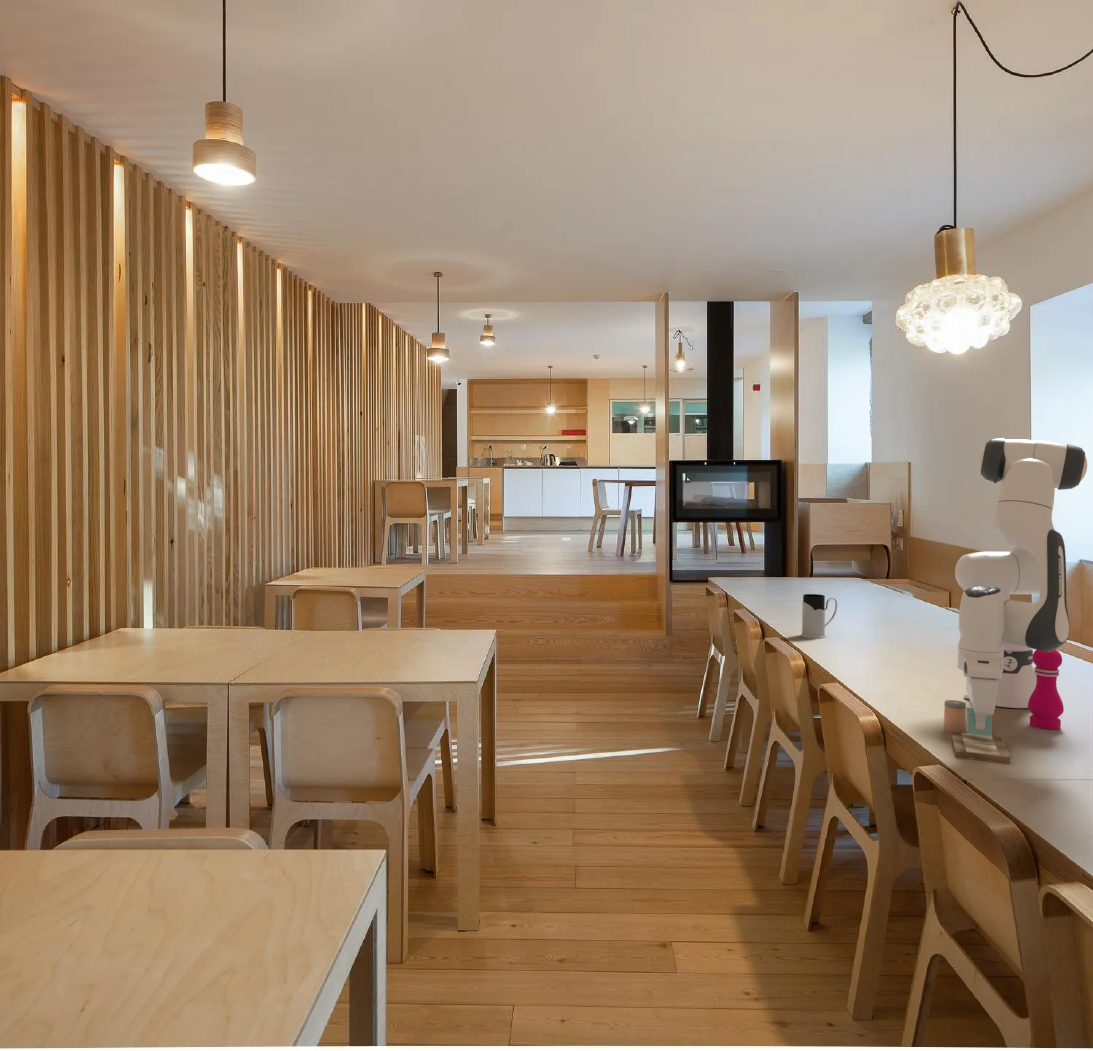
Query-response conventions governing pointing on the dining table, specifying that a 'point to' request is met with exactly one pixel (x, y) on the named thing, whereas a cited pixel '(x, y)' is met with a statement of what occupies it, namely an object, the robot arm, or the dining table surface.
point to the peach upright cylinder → (954, 716)
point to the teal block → (971, 724)
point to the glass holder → (814, 616)
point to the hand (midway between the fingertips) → (978, 724)
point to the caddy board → (980, 747)
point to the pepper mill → (1046, 691)
